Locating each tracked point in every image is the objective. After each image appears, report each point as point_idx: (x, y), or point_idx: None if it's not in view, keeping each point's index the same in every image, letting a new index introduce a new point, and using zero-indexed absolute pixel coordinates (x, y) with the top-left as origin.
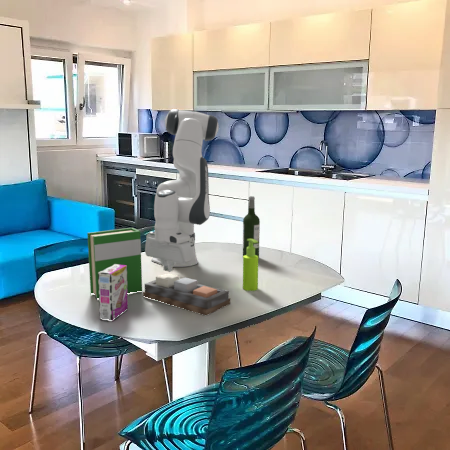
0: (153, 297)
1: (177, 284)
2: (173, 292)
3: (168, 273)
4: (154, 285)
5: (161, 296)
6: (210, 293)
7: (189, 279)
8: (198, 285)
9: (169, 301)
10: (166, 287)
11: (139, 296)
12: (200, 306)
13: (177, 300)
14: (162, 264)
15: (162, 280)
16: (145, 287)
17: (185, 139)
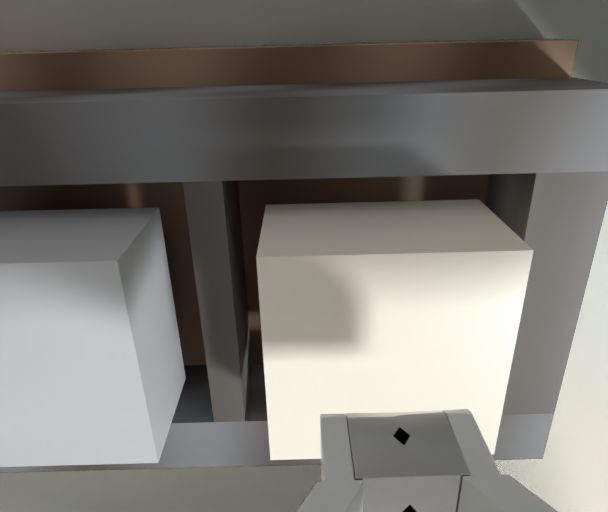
0: (380, 43)
1: (54, 247)
2: (32, 101)
3: None
4: (450, 129)
5: (272, 77)
6: None
7: (36, 440)
8: None
9: (115, 50)
10: (244, 173)
11: (601, 37)
12: None
13: (15, 92)
14: (543, 507)
15: (374, 241)
16: (585, 83)
17: None
